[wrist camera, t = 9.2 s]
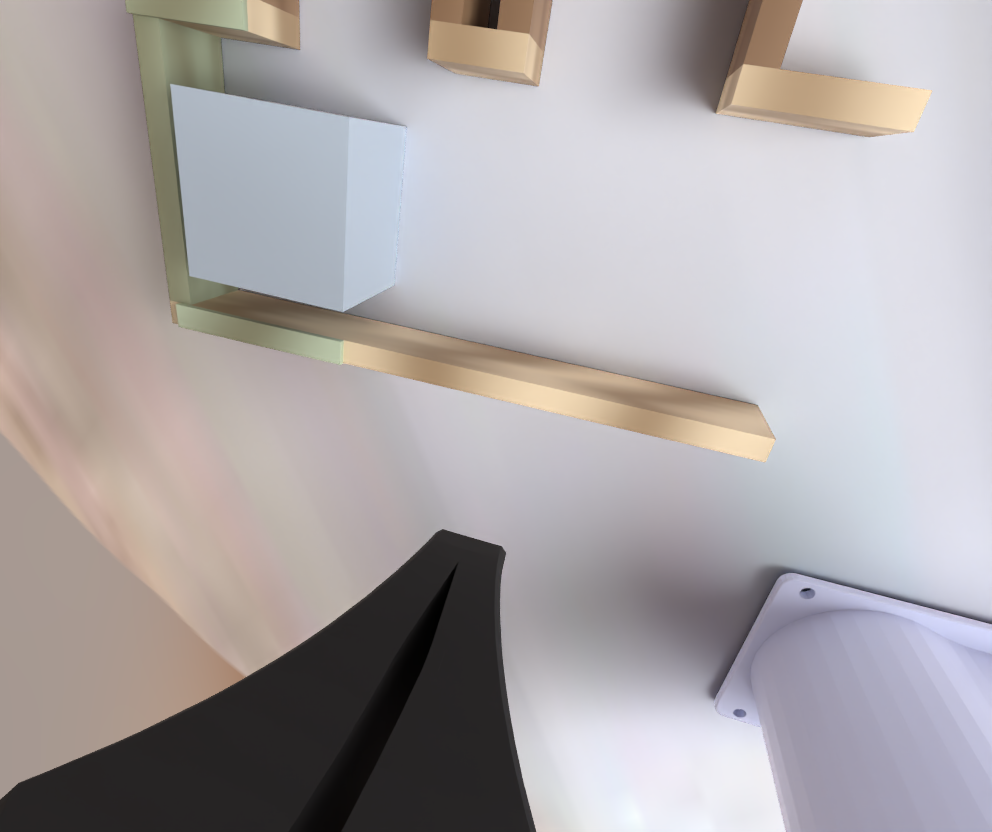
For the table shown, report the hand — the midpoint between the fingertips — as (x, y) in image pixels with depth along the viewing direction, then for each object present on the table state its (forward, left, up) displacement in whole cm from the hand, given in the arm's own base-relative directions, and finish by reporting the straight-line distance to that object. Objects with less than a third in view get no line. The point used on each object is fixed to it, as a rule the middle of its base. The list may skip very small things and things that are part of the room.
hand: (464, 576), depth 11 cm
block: (+8, -5, -10) cm, 14 cm away
